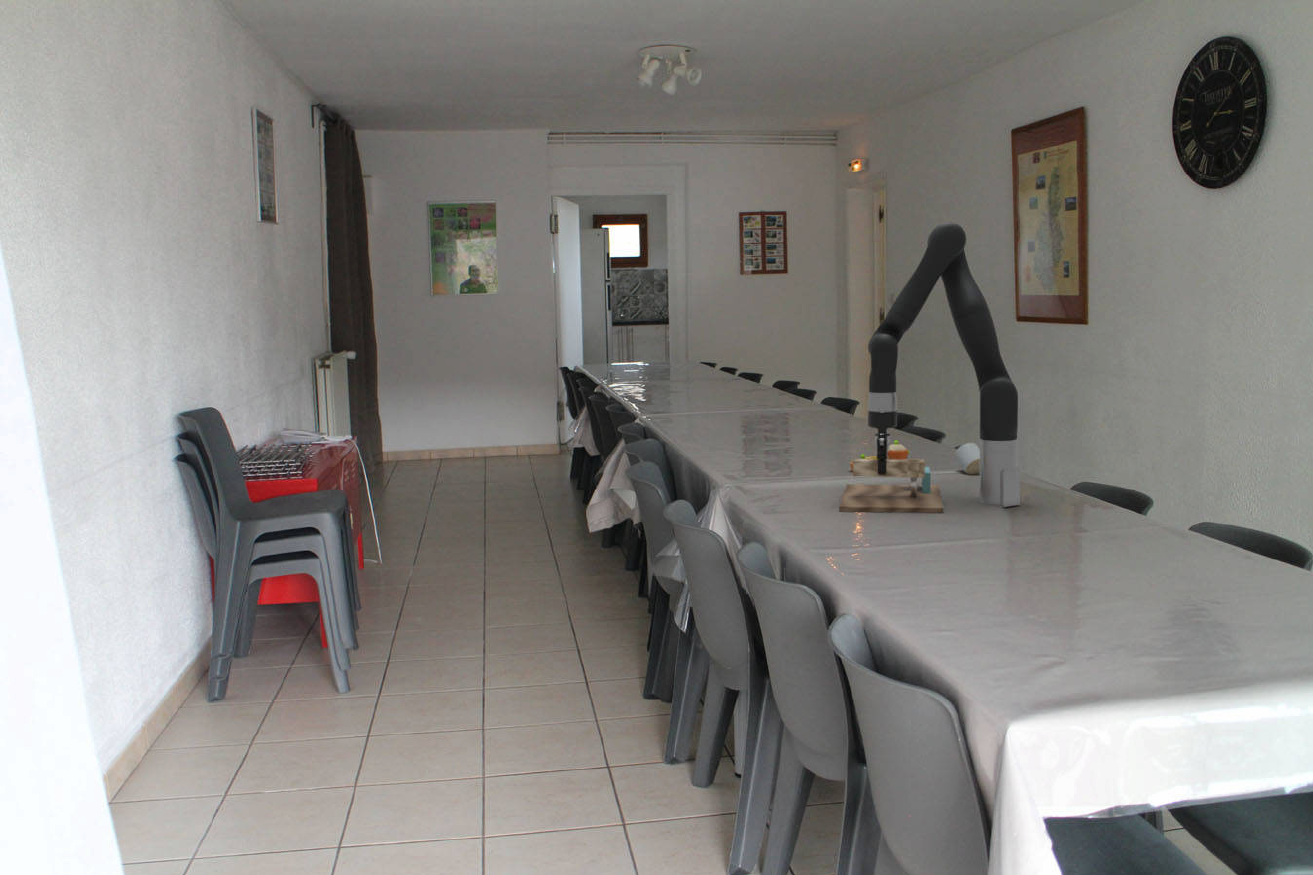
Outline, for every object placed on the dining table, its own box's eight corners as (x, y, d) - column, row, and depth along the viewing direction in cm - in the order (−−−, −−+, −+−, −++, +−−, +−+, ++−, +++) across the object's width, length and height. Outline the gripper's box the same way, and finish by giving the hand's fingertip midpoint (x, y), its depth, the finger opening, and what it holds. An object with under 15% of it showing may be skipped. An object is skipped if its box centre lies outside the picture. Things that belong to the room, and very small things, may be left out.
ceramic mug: (968, 481, 314) (965, 464, 309) (956, 464, 320) (953, 447, 315) (1000, 468, 314) (998, 450, 309) (987, 451, 320) (985, 434, 315)
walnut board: (938, 489, 292) (938, 485, 292) (943, 512, 257) (943, 508, 257) (847, 488, 298) (847, 484, 298) (839, 511, 263) (839, 506, 263)
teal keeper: (929, 486, 290) (929, 466, 289) (930, 493, 279) (930, 472, 278) (900, 486, 292) (900, 466, 291) (900, 493, 281) (900, 472, 280)
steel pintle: (916, 496, 275) (916, 474, 274) (916, 497, 273) (916, 475, 272) (910, 496, 275) (910, 474, 274) (910, 497, 273) (910, 475, 273)
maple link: (924, 474, 276) (924, 459, 275) (924, 477, 270) (924, 462, 269) (854, 473, 280) (854, 458, 280) (852, 476, 274) (852, 461, 274)
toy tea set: (864, 466, 344) (864, 437, 343) (911, 468, 337) (911, 438, 336) (843, 477, 320) (843, 447, 319) (893, 479, 314) (893, 448, 313)
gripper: (869, 406, 281) (868, 469, 283) (867, 411, 267) (866, 477, 269) (897, 406, 279) (896, 469, 281) (896, 411, 266) (896, 477, 268)
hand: (882, 472), depth 275 cm, fingers closed on maple link, 4 cm apart
